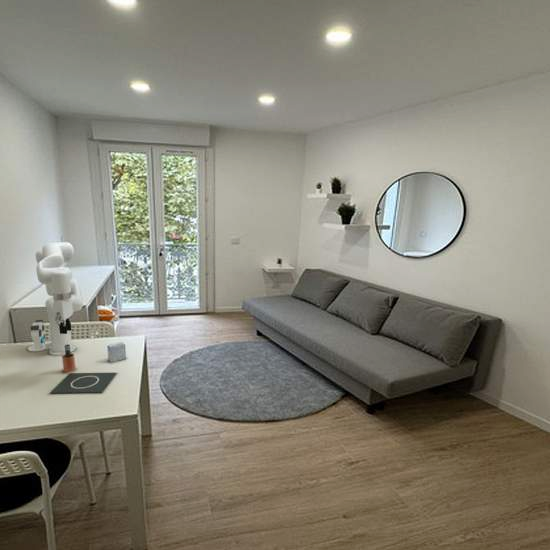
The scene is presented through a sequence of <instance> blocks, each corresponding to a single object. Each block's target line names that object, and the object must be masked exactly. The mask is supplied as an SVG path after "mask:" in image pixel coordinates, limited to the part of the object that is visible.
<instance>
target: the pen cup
mask: <svg viewBox="0 0 550 550" xmlns="http://www.w3.org/2000/svg"><path fill="white" fill-rule="evenodd" d="M61 359H62V360H61V361H62V369H63V372H64V373H72V372H75V370H76V359H75V354H74V353H71V357H68V358H66V355H65V354H62V356H61Z"/></svg>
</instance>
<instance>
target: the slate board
mask: <svg viewBox="0 0 550 550" xmlns="http://www.w3.org/2000/svg"><path fill="white" fill-rule="evenodd" d="M116 375H117V372H69V374H67V376H65V377H64V378H63V379H62V380H61V381H60V382H59V383H58V384H57V386H55V388H53V389H52V390H51V391H50V393H49V394H50V395H51V394H52V395H57V394H58V395H59V394H63V395H64V394H65V395H67V394H102V393H103V392H104V391H105V389H106V388H107V387H108V385H110V383H111V382H112V380H113V379H114V377H115V376H116Z"/></svg>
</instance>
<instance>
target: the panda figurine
mask: <svg viewBox="0 0 550 550" xmlns="http://www.w3.org/2000/svg"><path fill="white" fill-rule="evenodd" d="M30 336H31V339H32V341H33V344H32V345H30V346H28V347H27V351H29V352H40V351H45V350H47V349H49V348H45V344H51V343H50V342H45V338H46V334H45V325H44V319H35V320H34V322H33V323H32V324H31V325H30Z"/></svg>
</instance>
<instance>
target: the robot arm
mask: <svg viewBox="0 0 550 550" xmlns="http://www.w3.org/2000/svg"><path fill="white" fill-rule="evenodd" d="M74 255H75V249H74V247H73V244H72V243H71V242H67V241H59V242H58V241H57V242H48V243H46V244H44V245H43V246H42V248H41V249H39V250H37V251H36V253H35V260H36V264H37V265H36V269H35V270H36V276H37V280H38V282H39V283H40V284H43V285H44V286H45V289H46V293H47V295H48V296H49V298H48V299H46V301H45V303H44V304H45V310H46V312H47V316H48V323H49V331H50V341H51V343H50V344H45V348H48V349H49V350H48V353H49V355H52V356H61V355H62V356H63V355H65V345H68V344H69V345H70V353H71V354H72V353H73V352H74V351H75V350H76V346H75V345H73V343H72V342H73V341H72V333H71V331H72V316H73V315H74V312H80V311H82V309H83V303H84V302H83V299H82V294H81V288H80V284H79V281H78V279H77V278H75V277H73V273H72V270H71V269H70V268H69V267H68V266H63V265H64V263H70V262H72V260H73V258H74Z"/></svg>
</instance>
